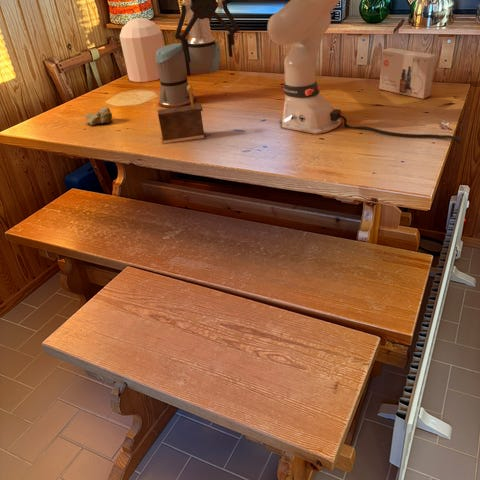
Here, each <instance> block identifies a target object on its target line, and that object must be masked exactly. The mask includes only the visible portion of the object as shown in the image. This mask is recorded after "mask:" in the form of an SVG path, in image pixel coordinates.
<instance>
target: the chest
mask: <svg viewBox="0 0 480 480" xmlns="http://www.w3.org/2000/svg"><path fill="white" fill-rule="evenodd" d="M158 121H159V127H160V132H161V133H160V134H161V137H162V142H163V144H169V143H177V142H184V141H185V142H186V141H191V140H198V139H204V138H205V132H204V123H203V116H202V111H198V112H191V113H184V114H176V115H169V116H162V117H158Z"/></svg>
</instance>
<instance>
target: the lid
mask: <svg viewBox="0 0 480 480" xmlns="http://www.w3.org/2000/svg"><path fill="white" fill-rule="evenodd" d="M187 90H188V93H190V100H191V104H189V105H185V106H181V107H173V108H170V107H167V108H162V109H157V116H158V118H159V117H162V116H169V115H176V114H184V113H191V112H198V111H201V112H203V106H202V104H201V103H197V104H194V101H193V97H192V93H193V94H194V87H193V85H191V84H189V85H188V86H187Z"/></svg>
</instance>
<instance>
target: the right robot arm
mask: <svg viewBox="0 0 480 480" xmlns="http://www.w3.org/2000/svg"><path fill="white" fill-rule="evenodd" d="M340 1H341V0H289V1H288V2H286V4H285V5H284V6H283V7H282V8H281V9H279V10H278V11H276V12H275V13H274V14H272V15H271V16H270V17H269V19H268V21H267V25H266V29H267V35H268V37H269V39H270V41H271V42H272V43H273V44H274V45H276V46H291V48H290V50H289V52H288V54H287V55H286V57H285V58H284V62H283V67H284V68H283V70H284V82H283V89H282V90H283V94H284V103H283V111H282V116H281V120H280V121H281V128H282V129H288V130H292V131H298V132H303V133H309V134H313V135H314V134H315V135H319V134H324V133H328V132H331V131H332V130H335V129H337V128H338V127H339V126H340V125H341V124H342V120H343V126H344V127H345V128H347V129H354V130H368V131H372V132H375V133H378V134H379V133H380V134H382V135H390V136H395V137H405V138H406V137H407V138H434V139H450V140H453V141H454V142H456V143H457V144H461V141H460V139H458V138H457V137H456V136H454V135H449V134H446V135H445V134H431V133H430V134H428V133H427V134H426V133H424V134H422V133H421V134H417V133H416V134H415V133H401V132H391V131H387V130H381V129H378V128H375V127H371V126H367V125H365V126H364V125H362V126H351V125H348V124H347V122H348V120H347V118H346V117H345V116H344V115H342V113H341V111H342V110H341V109H339V108H334V106H333V105H332V104H331V103H330V102H329V101H328V100H327V99H326V98H325V97H324V96H323V95H322V94H321V93H320V90H321V89H322V86H323V85H322V84H320V85H319V84H318V81H317V59H318V54H319V51H320V50H319V49H320V46H321V43H322V40H323V37H324V35H325V33H326V32H327V30H328V29H329V27H330V25H331V24H332V23H331V22H332V14H331V12H332V11H333V10H334V9H335V7H336V6H338V4H339V3H340ZM341 119H342V120H341ZM455 207H456V202H452V204H451V207H450V214H449V218H453V217H454V211H455Z"/></svg>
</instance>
